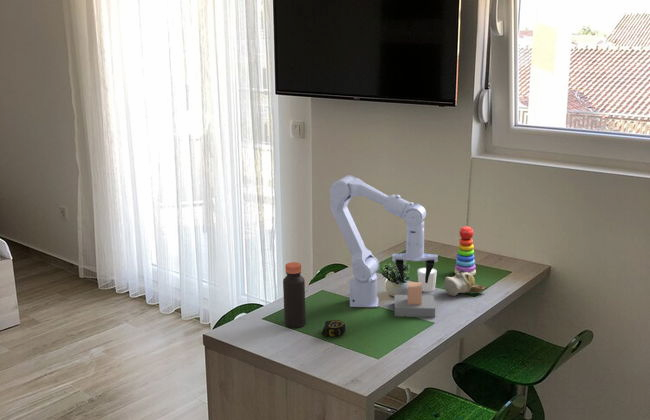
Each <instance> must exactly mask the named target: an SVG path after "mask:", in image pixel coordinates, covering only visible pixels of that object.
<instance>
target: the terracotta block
mask: <svg viewBox="0 0 650 420" xmlns="http://www.w3.org/2000/svg"><path fill="white" fill-rule="evenodd" d="M422 292H423V291H422V283H421V282H418V281H415V282H414V281H407V295H408V304H418V305H422V295H423V293H422Z"/></svg>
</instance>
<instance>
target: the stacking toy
mask: <svg viewBox="0 0 650 420" xmlns="http://www.w3.org/2000/svg"><path fill="white" fill-rule="evenodd" d="M458 232H459V236H460V239H458V240H459V245H458V249H457V254H456V259H455V263H456V264H455V266H454V267H455V268H454V274H455V275H456V273H457V272H458V271H461V270H463V271H464V272H467V273H469V274H471V275H472V276H473V277H474V276H475V275H476V274H477V270H476V268H477V267H476V264H475V263H476V260H475V254H474V253H475V250H474V248H475V246H474V240H473V239H472V238H473V236H474V229H473V228H471V227H470V226H468V225H467V226H462V227H461V228H460V229H459V231H458Z"/></svg>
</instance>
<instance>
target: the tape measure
mask: <svg viewBox="0 0 650 420" xmlns="http://www.w3.org/2000/svg"><path fill="white" fill-rule="evenodd" d="M346 328H347V327H346V323H345V322H344V321H343V320H339V319H334V320H333V319H332V320H326V321H325V322H324V326H323V329H322V331H321V335H322V336H324V338H327V337H328V338H329V337H331V338H339V337H342V336H344V335H345V333H346V330H347V329H346Z"/></svg>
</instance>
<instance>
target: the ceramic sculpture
mask: <svg viewBox="0 0 650 420" xmlns="http://www.w3.org/2000/svg"><path fill="white" fill-rule="evenodd" d="M488 288H489V287H488V286H482V285H481V284H476V279H475V277H474V275H473V276H472V275H471V274H469V273H467V272H464V271H463V270H461V271H458V272H457V273H456V274H455V275H454V276H445V278H444V289H445V290H444V291H445V292H446V293H447V294H448V295H449V296H451V297H456V296H457V295H458V294H467V293H475V294H478V293H480V292H483V291H485V290H487V289H488Z"/></svg>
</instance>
